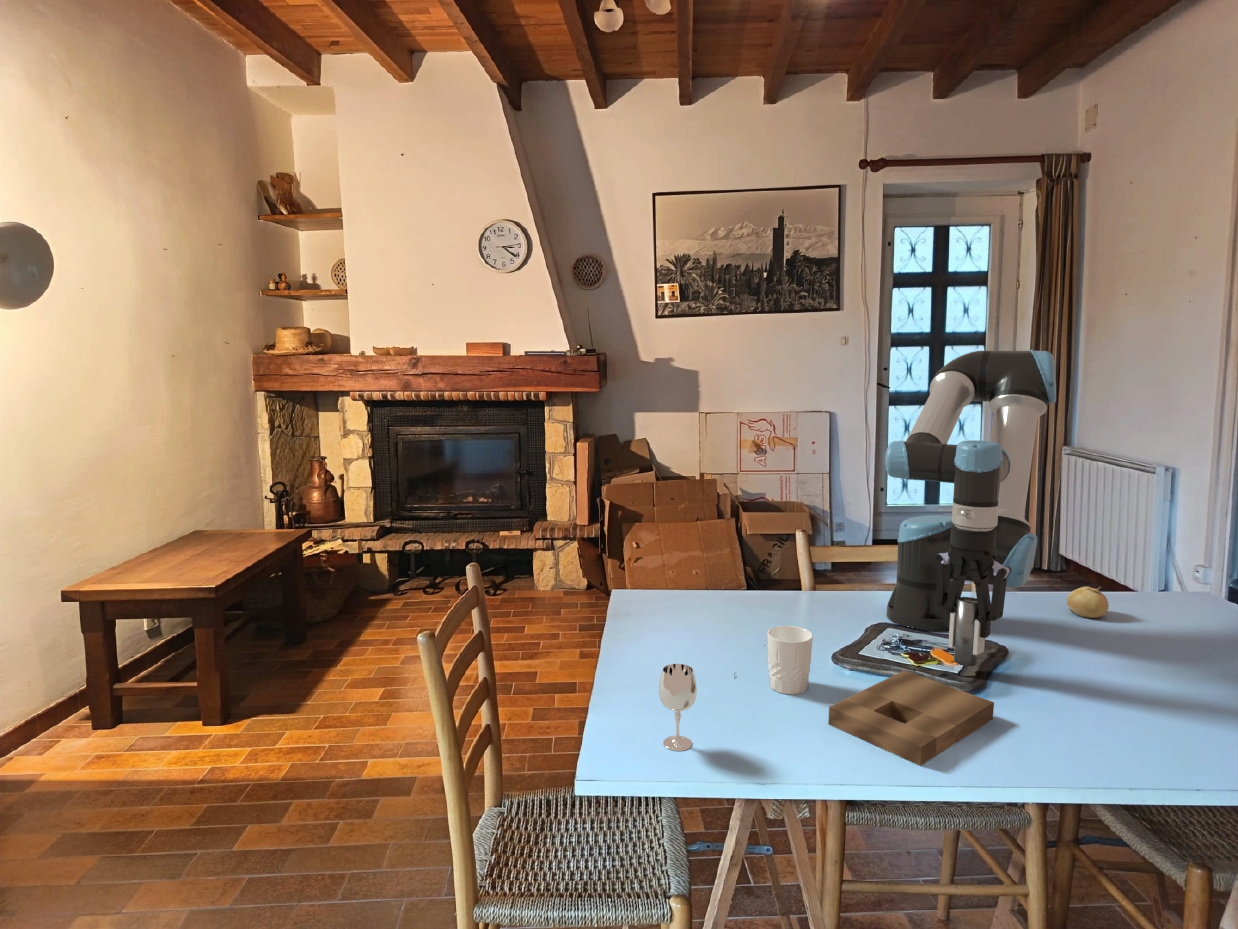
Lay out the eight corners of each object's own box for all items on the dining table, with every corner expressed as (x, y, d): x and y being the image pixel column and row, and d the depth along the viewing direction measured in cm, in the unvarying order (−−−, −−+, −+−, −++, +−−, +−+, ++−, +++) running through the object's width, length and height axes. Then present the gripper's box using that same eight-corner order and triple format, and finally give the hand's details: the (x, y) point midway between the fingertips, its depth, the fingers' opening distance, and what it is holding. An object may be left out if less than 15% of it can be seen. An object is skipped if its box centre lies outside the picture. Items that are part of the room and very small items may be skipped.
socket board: (828, 724, 123) (829, 706, 122) (903, 686, 136) (904, 670, 136) (920, 766, 110) (921, 746, 110) (992, 719, 124) (994, 702, 123)
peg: (948, 671, 142) (953, 600, 140) (959, 666, 145) (964, 595, 142) (969, 678, 139) (974, 605, 137) (980, 673, 141) (985, 600, 139)
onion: (1064, 617, 171) (1067, 586, 169) (1067, 607, 177) (1070, 577, 176) (1106, 624, 166) (1109, 592, 165) (1108, 613, 172) (1111, 583, 171)
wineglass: (656, 735, 120) (656, 663, 118) (692, 733, 120) (693, 661, 118) (661, 754, 114) (661, 679, 112) (699, 752, 115) (700, 677, 113)
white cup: (812, 680, 139) (814, 628, 137) (808, 699, 132) (810, 644, 130) (769, 674, 141) (770, 623, 140) (763, 693, 134) (764, 639, 133)
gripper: (919, 521, 142) (912, 640, 145) (1012, 538, 129) (1002, 669, 132) (940, 515, 146) (933, 631, 150) (1032, 531, 133) (1022, 658, 137)
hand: (966, 648), depth 141 cm, fingers closed on peg, 4 cm apart
